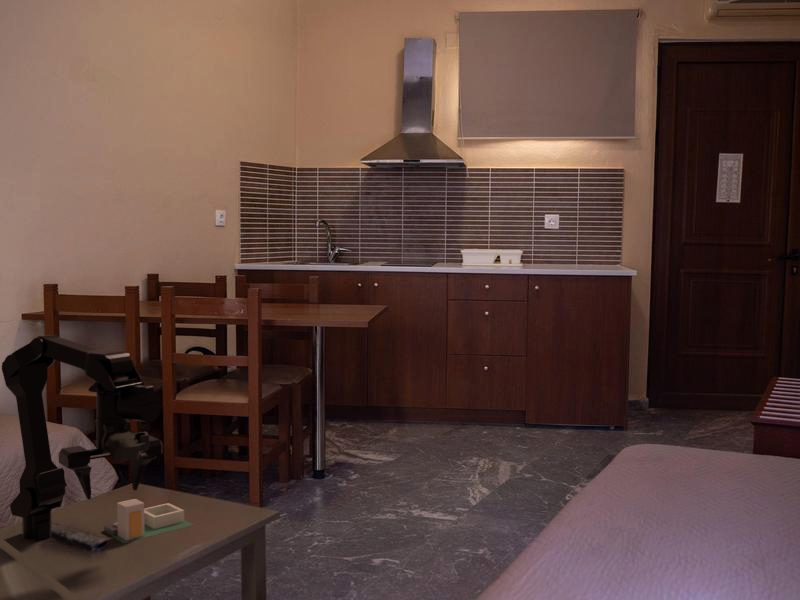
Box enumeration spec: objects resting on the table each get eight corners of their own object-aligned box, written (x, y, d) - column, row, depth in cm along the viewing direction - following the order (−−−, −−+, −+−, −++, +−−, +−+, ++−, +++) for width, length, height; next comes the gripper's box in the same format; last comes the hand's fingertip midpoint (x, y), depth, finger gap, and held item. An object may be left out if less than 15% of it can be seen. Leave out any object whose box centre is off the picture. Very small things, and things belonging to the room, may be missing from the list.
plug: (117, 535, 168) (117, 502, 167) (135, 530, 171) (135, 498, 170) (126, 540, 165) (126, 507, 164) (145, 536, 168) (144, 503, 167)
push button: (104, 530, 171) (103, 523, 171) (124, 525, 174) (124, 518, 174) (113, 536, 167) (113, 528, 167) (134, 530, 171) (134, 523, 171)
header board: (101, 534, 171) (101, 518, 171) (170, 517, 182) (170, 502, 182) (123, 547, 164) (123, 530, 163) (194, 529, 175) (193, 513, 175)
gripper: (79, 430, 144) (79, 515, 145) (175, 417, 157) (175, 495, 158) (57, 419, 152) (57, 499, 153) (150, 407, 165) (150, 482, 166)
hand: (112, 494), depth 157 cm, fingers open, 9 cm apart
